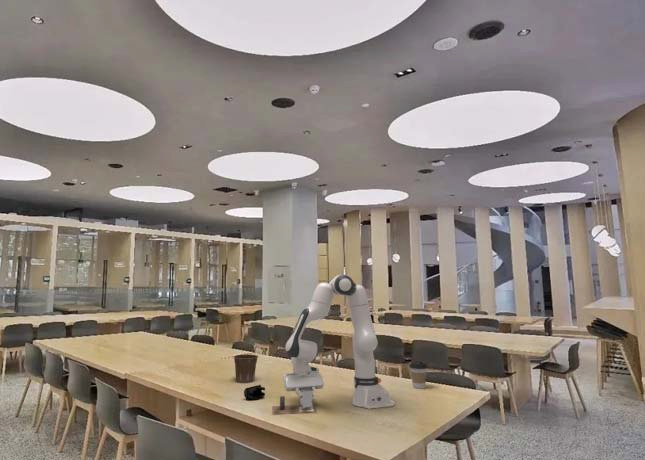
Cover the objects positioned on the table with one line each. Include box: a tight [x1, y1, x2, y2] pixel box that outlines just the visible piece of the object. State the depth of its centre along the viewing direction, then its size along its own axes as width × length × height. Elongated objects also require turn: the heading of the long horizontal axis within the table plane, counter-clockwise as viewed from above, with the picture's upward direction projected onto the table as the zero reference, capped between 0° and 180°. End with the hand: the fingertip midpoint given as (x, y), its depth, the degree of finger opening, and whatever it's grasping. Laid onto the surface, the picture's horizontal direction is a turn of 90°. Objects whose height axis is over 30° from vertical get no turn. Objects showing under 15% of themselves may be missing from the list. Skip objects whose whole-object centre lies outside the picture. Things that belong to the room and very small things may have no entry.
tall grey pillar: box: [299, 389, 313, 407], centre depth 203 cm, size 5×5×8 cm
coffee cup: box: [408, 361, 428, 390], centre depth 251 cm, size 11×11×15 cm
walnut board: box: [271, 395, 318, 416], centre depth 203 cm, size 22×14×8 cm, turn 97°
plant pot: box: [233, 353, 259, 384], centre depth 270 cm, size 16×16×16 cm
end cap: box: [243, 384, 266, 402], centre depth 227 cm, size 10×7×7 cm
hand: (306, 396), depth 202 cm, fingers closed on tall grey pillar, 5 cm apart
